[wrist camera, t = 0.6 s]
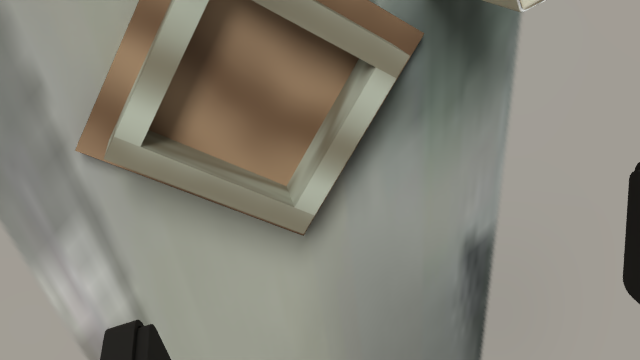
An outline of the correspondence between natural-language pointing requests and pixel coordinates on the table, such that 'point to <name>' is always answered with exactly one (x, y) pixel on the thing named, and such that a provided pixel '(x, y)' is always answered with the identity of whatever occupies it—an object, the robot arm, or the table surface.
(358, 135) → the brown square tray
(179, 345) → the table surface
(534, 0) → the skincare box
